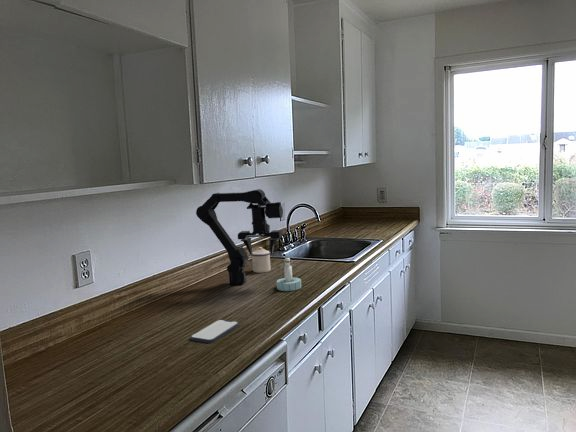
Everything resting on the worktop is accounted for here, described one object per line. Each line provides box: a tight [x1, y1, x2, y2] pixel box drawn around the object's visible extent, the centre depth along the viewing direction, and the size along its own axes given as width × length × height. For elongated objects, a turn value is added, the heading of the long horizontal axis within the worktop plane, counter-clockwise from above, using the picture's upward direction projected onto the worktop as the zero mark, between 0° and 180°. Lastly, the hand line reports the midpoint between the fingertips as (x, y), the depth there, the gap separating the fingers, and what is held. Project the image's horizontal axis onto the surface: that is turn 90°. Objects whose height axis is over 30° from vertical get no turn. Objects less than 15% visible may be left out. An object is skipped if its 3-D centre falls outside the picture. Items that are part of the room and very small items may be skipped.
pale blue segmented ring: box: [276, 276, 302, 292], centre depth 199 cm, size 10×10×3 cm
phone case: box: [190, 319, 240, 344], centre depth 153 cm, size 9×2×16 cm
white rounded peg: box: [283, 257, 293, 282], centre depth 199 cm, size 3×3×12 cm
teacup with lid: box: [246, 246, 271, 274], centre depth 232 cm, size 12×9×12 cm
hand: (261, 254), depth 207 cm, fingers open, 9 cm apart
